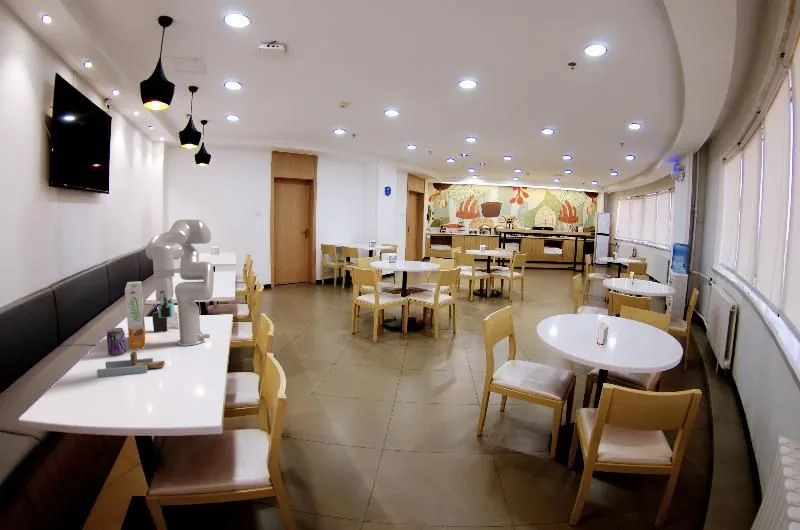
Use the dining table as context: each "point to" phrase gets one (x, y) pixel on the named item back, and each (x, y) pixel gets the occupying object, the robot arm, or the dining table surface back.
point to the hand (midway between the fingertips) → (167, 314)
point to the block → (171, 310)
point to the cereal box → (135, 314)
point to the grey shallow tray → (123, 368)
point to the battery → (159, 322)
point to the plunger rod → (149, 364)
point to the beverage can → (116, 341)
